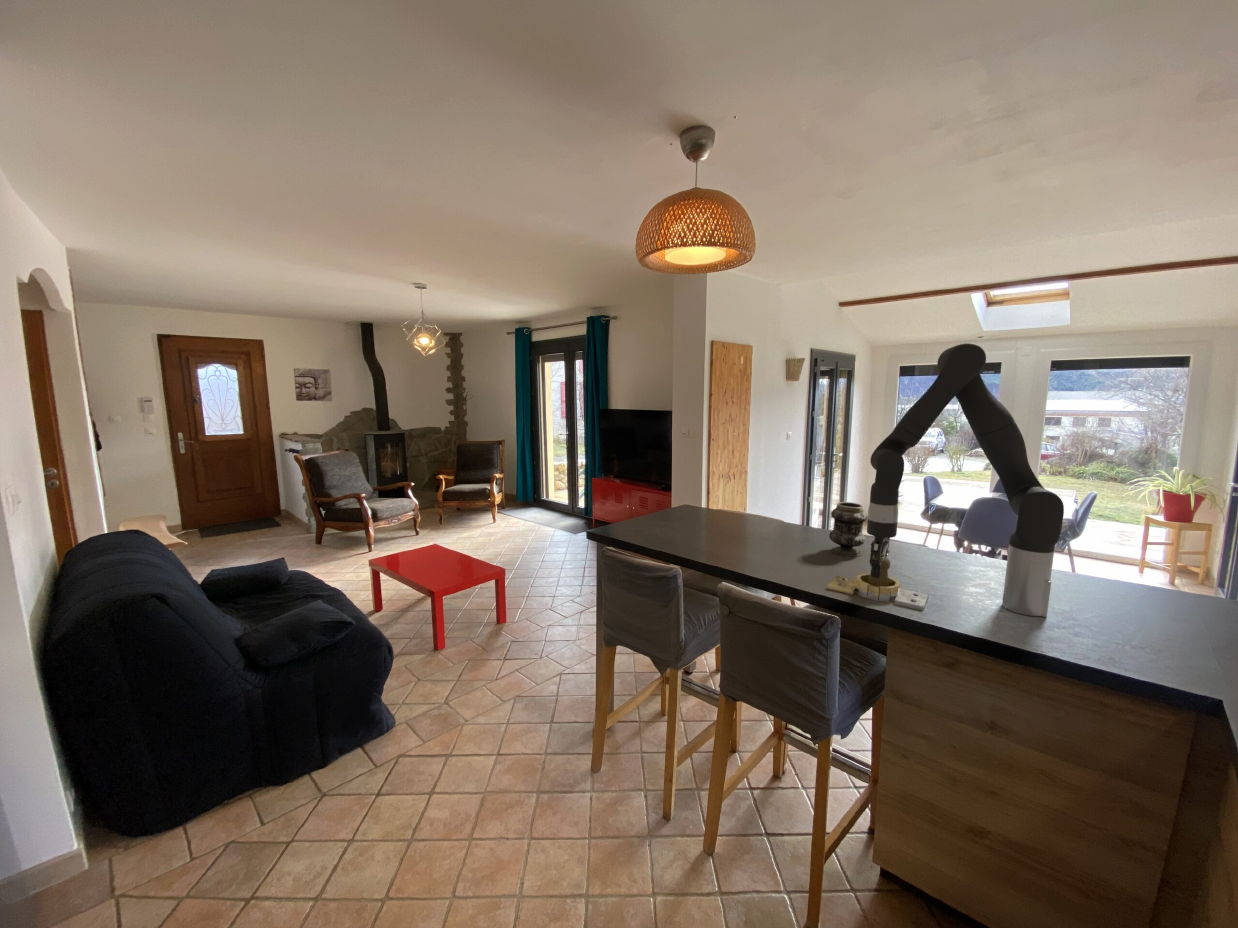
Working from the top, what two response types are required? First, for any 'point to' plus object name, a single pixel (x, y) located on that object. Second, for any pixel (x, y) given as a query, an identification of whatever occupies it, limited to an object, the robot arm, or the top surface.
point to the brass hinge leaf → (863, 585)
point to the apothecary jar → (848, 528)
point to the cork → (881, 574)
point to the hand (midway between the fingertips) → (878, 572)
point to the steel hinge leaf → (899, 598)
